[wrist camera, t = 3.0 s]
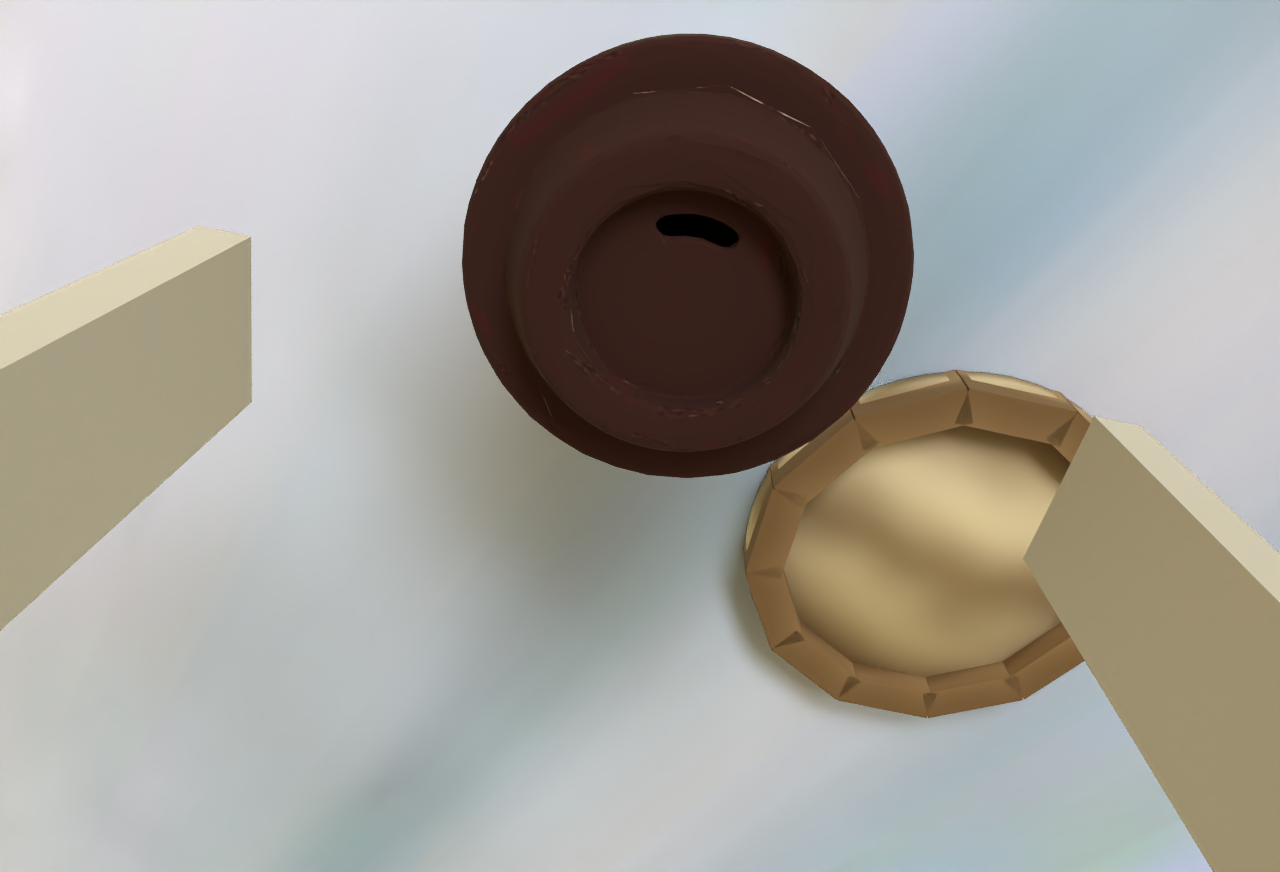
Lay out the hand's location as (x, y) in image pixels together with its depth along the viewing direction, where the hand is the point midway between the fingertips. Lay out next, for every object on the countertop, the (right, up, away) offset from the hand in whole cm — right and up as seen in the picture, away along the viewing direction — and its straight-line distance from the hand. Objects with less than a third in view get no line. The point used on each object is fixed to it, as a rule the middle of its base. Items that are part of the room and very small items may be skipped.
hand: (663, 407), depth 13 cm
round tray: (+12, -5, +24) cm, 27 cm away
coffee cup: (+1, +9, +17) cm, 20 cm away
